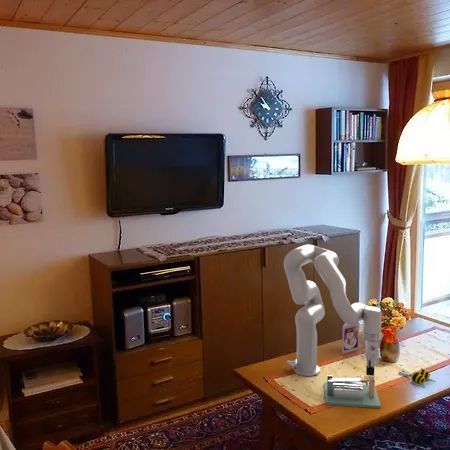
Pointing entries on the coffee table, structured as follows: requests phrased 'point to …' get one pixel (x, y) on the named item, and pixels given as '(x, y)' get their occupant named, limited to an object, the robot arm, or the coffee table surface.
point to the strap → (348, 380)
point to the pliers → (410, 377)
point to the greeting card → (350, 337)
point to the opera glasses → (420, 376)
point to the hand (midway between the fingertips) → (370, 374)
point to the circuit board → (366, 402)
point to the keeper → (371, 384)
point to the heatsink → (344, 390)
